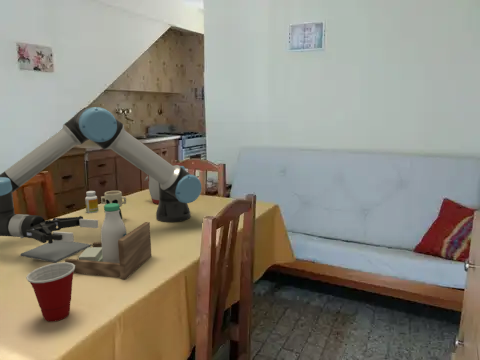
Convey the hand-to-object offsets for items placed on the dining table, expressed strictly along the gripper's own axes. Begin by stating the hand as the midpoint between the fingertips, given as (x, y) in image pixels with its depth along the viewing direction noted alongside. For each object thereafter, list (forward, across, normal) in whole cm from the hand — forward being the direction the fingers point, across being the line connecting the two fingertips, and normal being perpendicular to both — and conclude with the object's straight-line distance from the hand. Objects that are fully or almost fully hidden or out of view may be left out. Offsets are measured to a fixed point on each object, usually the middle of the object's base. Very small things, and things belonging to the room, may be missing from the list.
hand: (85, 230), depth 129 cm
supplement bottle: (-33, -55, -11) cm, 66 cm away
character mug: (-15, -43, -11) cm, 47 cm away
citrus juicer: (-8, -79, -11) cm, 81 cm away
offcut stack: (+2, 0, -11) cm, 12 cm away
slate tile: (-17, -7, -11) cm, 21 cm away
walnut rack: (+7, 0, -11) cm, 13 cm away
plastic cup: (+11, +31, -11) cm, 35 cm away
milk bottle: (+10, 0, -11) cm, 15 cm away
